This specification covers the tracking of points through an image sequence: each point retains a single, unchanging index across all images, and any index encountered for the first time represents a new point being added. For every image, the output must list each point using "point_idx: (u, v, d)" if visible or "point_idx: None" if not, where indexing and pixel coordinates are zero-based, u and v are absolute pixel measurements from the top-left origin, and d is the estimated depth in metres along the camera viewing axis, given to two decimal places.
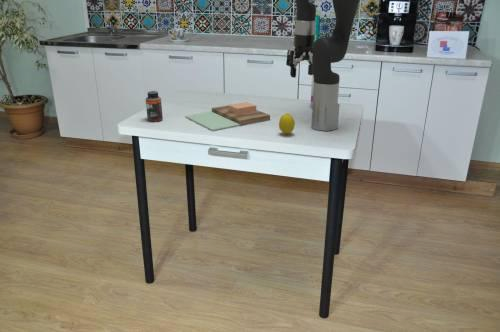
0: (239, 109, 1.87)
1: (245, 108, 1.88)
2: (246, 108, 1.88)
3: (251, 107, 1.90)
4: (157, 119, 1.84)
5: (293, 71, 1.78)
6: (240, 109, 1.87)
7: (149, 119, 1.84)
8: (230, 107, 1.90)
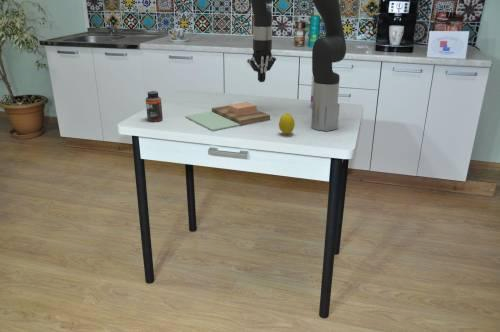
0: (239, 109, 1.87)
1: (245, 108, 1.88)
2: (246, 108, 1.88)
3: (251, 107, 1.90)
4: (157, 119, 1.84)
5: (260, 76, 1.91)
6: (240, 109, 1.87)
7: (149, 119, 1.84)
8: (230, 107, 1.90)
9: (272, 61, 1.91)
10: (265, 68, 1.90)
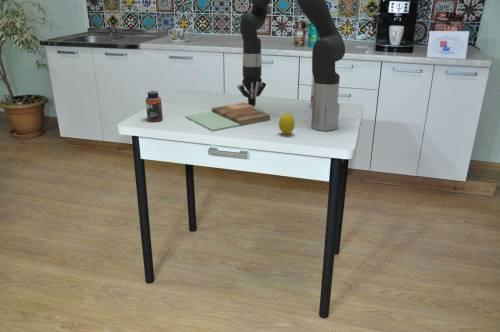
0: (236, 109, 1.86)
1: (242, 108, 1.87)
2: (243, 108, 1.88)
3: (248, 107, 1.89)
4: (157, 119, 1.84)
5: (250, 101, 1.92)
6: (237, 109, 1.86)
7: (149, 119, 1.84)
8: (227, 107, 1.90)
9: (262, 86, 1.92)
10: (255, 94, 1.92)
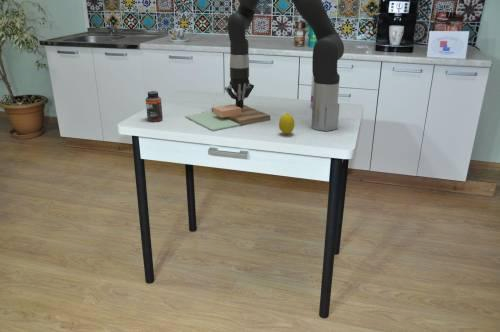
0: (223, 112, 1.83)
1: (230, 111, 1.84)
2: (231, 111, 1.85)
3: (236, 110, 1.86)
4: (157, 119, 1.84)
5: (238, 103, 1.89)
6: (224, 112, 1.83)
7: (149, 119, 1.84)
8: (215, 110, 1.86)
9: (250, 88, 1.89)
10: (243, 95, 1.89)
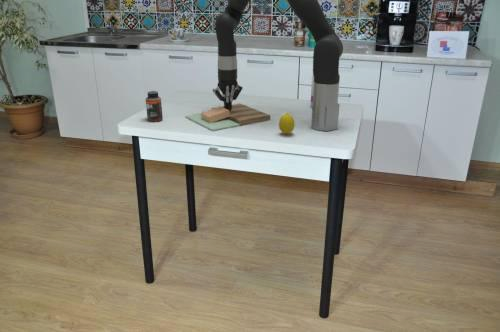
0: (211, 117, 1.81)
1: (217, 115, 1.82)
2: (218, 115, 1.82)
3: (224, 113, 1.83)
4: (157, 119, 1.84)
5: (226, 105, 1.86)
6: (212, 117, 1.81)
7: (149, 119, 1.84)
8: (202, 115, 1.84)
9: (238, 90, 1.86)
10: (231, 97, 1.86)
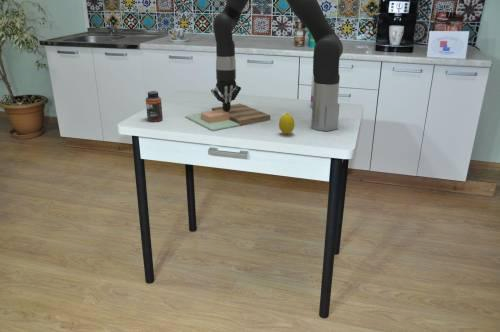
0: (211, 117, 1.81)
1: (217, 116, 1.82)
2: (218, 116, 1.82)
3: (224, 115, 1.84)
4: (157, 119, 1.84)
5: (225, 106, 1.86)
6: (212, 117, 1.81)
7: (149, 119, 1.84)
8: (202, 115, 1.84)
9: (237, 90, 1.86)
10: (230, 98, 1.85)
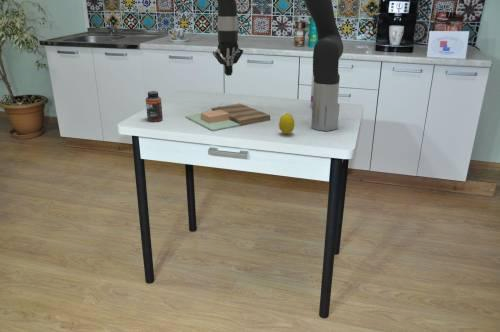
0: (211, 117, 1.81)
1: (217, 116, 1.82)
2: (218, 116, 1.82)
3: (224, 115, 1.84)
4: (157, 119, 1.84)
5: (227, 69, 1.81)
6: (212, 117, 1.81)
7: (149, 119, 1.84)
8: (202, 115, 1.84)
9: (239, 53, 1.81)
10: (232, 61, 1.81)
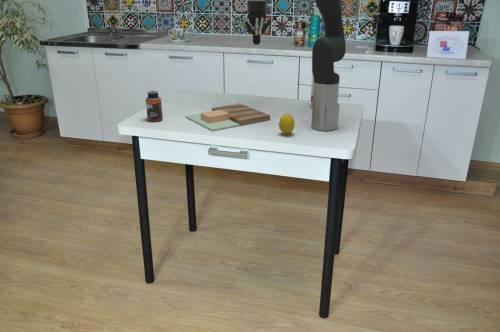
0: (211, 117, 1.81)
1: (217, 116, 1.82)
2: (218, 116, 1.82)
3: (224, 115, 1.84)
4: (157, 119, 1.84)
5: (255, 38, 1.91)
6: (212, 117, 1.81)
7: (149, 119, 1.84)
8: (202, 115, 1.84)
9: (267, 23, 1.91)
10: (260, 30, 1.90)
